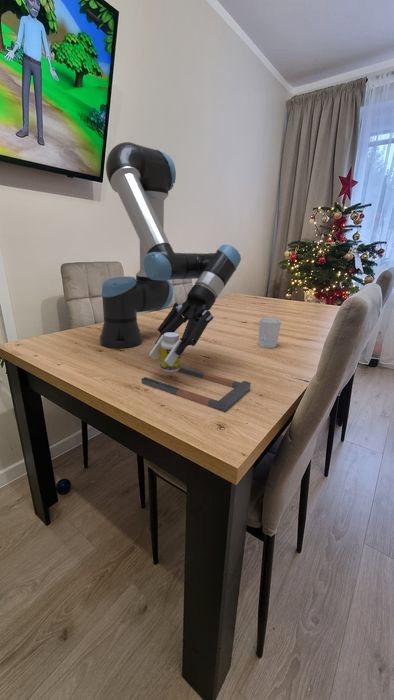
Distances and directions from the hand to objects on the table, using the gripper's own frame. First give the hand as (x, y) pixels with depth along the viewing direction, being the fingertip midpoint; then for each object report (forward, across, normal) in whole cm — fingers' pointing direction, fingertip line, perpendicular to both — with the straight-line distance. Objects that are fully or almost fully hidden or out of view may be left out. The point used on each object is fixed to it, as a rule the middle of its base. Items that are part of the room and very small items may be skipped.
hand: (160, 360), depth 80 cm
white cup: (-32, -3, -41) cm, 52 cm away
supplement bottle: (0, 0, -5) cm, 5 cm away
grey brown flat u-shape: (+1, -8, -8) cm, 11 cm away
